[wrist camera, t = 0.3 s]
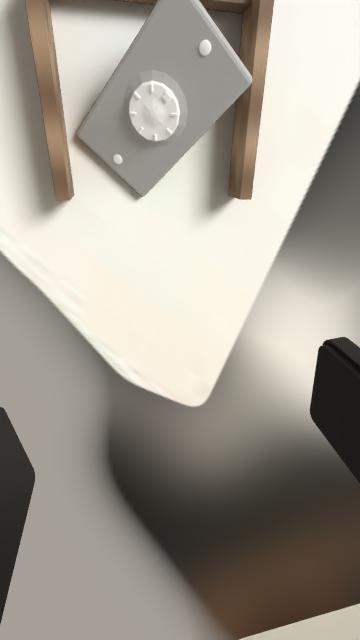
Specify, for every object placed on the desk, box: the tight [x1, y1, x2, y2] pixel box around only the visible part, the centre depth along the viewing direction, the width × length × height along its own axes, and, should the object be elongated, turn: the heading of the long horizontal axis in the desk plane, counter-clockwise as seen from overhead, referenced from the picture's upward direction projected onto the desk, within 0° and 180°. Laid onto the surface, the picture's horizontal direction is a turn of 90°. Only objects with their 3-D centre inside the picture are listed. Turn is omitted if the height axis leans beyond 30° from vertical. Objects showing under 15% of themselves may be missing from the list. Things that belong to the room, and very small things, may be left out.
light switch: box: [76, 0, 252, 197], centre depth 29 cm, size 8×6×14 cm
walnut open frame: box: [25, 0, 274, 200], centre depth 29 cm, size 17×19×4 cm
